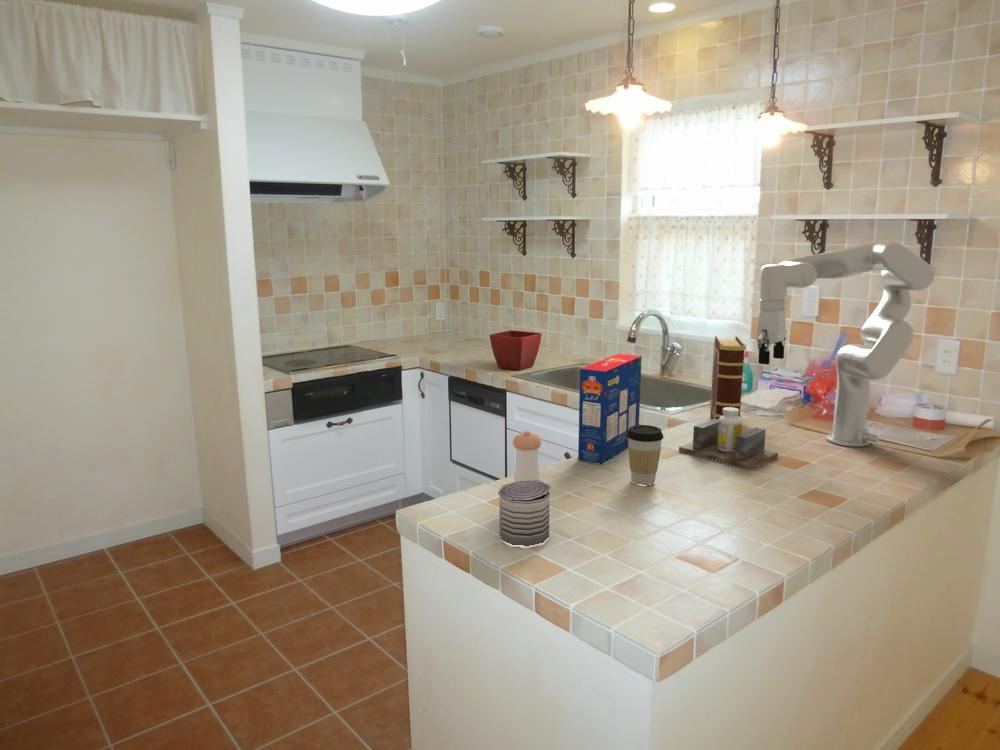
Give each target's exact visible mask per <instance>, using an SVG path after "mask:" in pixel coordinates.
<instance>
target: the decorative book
mask: <svg viewBox="0 0 1000 750" xmlns="http://www.w3.org/2000/svg"><path fill="white" fill-rule="evenodd" d="M734 337H735V338H734V339H718V337H717V335H715V336H714V342H713V343H714V345H713V357H712V358H713V360H712V374H711V395H710V409H709V410H710V420H712V419H719V418H720V417H721V416H723V408H725V407H733V408H737V409H739V414H738V417H740V418H741V417H742V416H741V406H742V388H743V378H744V374H743V373H744V366H745V361H744V358H745V350H746V345H744V343H743V341H741V339H740V338H739V337H738V336H737V335H736V336H734ZM741 419H742V418H741Z"/></svg>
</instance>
